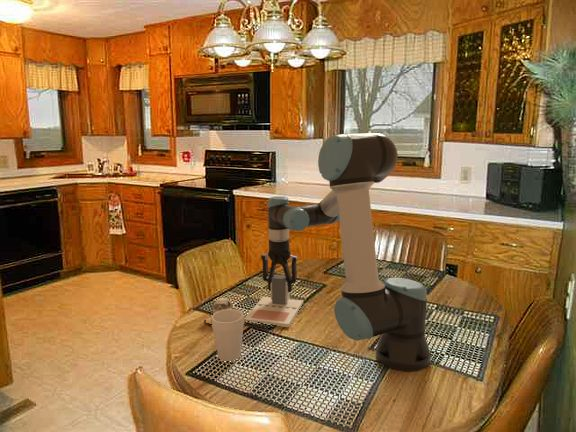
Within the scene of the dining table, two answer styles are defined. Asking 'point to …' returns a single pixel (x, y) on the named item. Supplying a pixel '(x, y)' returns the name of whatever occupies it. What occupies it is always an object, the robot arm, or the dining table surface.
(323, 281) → the dining table surface
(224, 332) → the foam cup
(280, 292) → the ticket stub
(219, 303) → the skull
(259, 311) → the white flat piece
